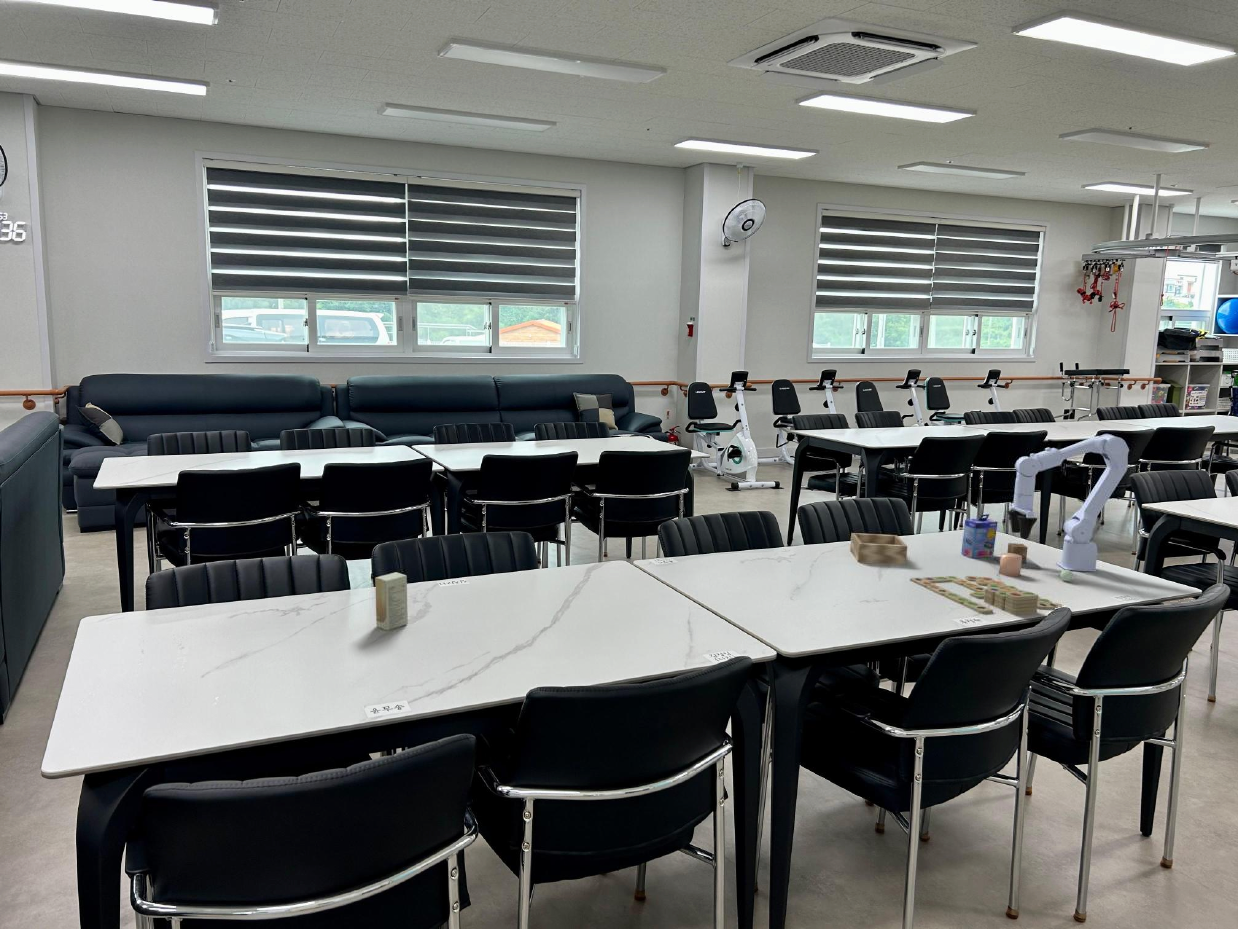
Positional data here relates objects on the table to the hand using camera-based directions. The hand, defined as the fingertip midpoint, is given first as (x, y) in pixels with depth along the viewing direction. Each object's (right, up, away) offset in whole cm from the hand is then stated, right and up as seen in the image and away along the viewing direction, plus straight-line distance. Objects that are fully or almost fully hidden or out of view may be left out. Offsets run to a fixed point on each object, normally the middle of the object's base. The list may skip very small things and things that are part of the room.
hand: (1019, 535), depth 285 cm
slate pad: (0, -9, +1) cm, 9 cm away
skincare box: (-184, -16, -76) cm, 200 cm away
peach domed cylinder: (-9, -11, -12) cm, 18 cm away
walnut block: (-1, -9, +1) cm, 9 cm away
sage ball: (+6, -13, -18) cm, 23 cm away
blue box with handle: (-10, -8, +10) cm, 16 cm away
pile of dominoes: (-26, -15, -34) cm, 45 cm away
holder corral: (-45, -8, +3) cm, 46 cm away
